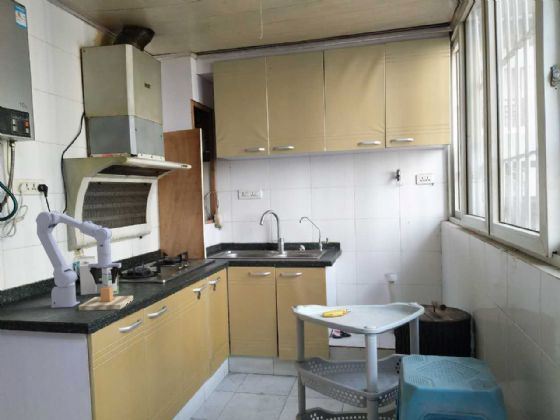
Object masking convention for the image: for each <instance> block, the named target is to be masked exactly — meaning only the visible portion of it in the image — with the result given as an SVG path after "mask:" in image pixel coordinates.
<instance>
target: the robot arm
mask: <svg viewBox="0 0 560 420" xmlns="http://www.w3.org/2000/svg"><path fill="white" fill-rule="evenodd" d="M35 222H36V235H37V237H38V239H39V241H40V244H41V245H42V247H43V249H44V252H45V254H46V255H47V257H48V260H49V261H50V263H51V266H52V267H53V272H52V276H53V277H54V279H53V280H54V284H55V285H56V286H54V287H52V289H51V293H50V294H51V295H50V296H51V306H50V308H52V309H54V308H55V309H56V308H72V307H75V306H77V305H79V304H80V303H81V302H80V301H77V294H76V281H77V280H78V274H77V271H75V270H74V269H73V268H72V266H70V265H69V264H68V263H67V262H66V260H65V258H64V256H63V254H62V252H61V249H60V247H59V246H58V244H57V242H56V240H55V237H54V235H53V233H52V232H53V231H54V230H55V228H56V227H57V225H58V224H64V225H67V226H70V227H73V228H76V229H78V230H79V232H80V233H81V234H84V235H86V236H89V237H91V238H93V239H95V240H96V253H97V254H96V255H97V256H96V257H97V263H96V262H95V264H88V269H90V270H89V271H90V273H91V274H92V276H93V278H94V281H95V284H96V285H98V284H100V274H99V273H100V269H102V268H112V269H110V271H111V276H112V284H114V283H115V282H116V277H117V274H118V275H119V271H120V269H121V268H122V262H112V256H111V255H112V250H111V249H112V248H111V237H112V235H113V232H112V230H111V229H110V228H109V227H106V226H105V227H103V226H102V225H100V224H99V225H97V224H95V223H94V222H93V221H91V220H88V221H87V220H85V221H82V220H81V221H80V220H79V219H77V218H74V217H71V216H69V215H67V214H65V213H63V212H58V211H56V210H52V211H41V212H40V213H38V215H37V216H36V218H35ZM104 266H108V267H104ZM110 266H111V267H110Z"/></svg>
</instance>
